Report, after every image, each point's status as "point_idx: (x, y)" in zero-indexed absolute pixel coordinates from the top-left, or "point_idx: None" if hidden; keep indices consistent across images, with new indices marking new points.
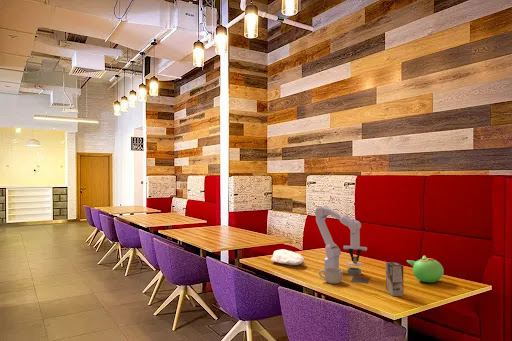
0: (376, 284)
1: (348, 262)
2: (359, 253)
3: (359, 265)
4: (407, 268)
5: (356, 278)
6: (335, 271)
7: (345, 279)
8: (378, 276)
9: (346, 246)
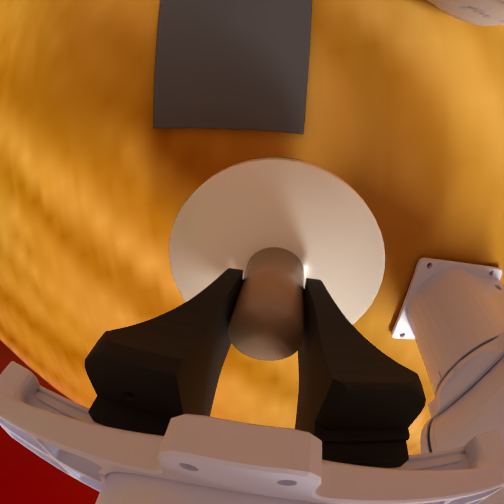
0: (107, 17)
1: (364, 283)
2: (142, 328)
3: (209, 178)
4: (62, 385)
5: (265, 92)
6: (479, 1)
7: (367, 67)
8: (110, 238)
9: (470, 494)
